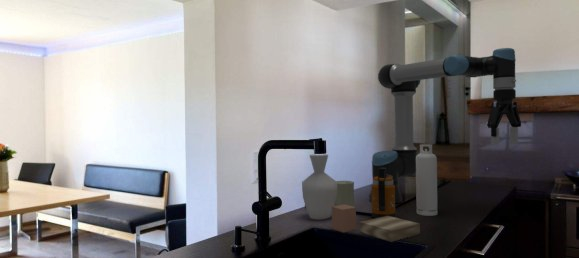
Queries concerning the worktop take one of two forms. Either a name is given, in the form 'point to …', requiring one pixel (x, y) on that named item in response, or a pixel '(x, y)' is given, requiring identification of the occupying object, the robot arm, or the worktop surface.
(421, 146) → the bottle
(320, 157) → the vase
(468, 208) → the worktop surface
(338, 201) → the can
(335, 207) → the tower block
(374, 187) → the canister
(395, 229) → the plinth block
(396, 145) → the robot arm
